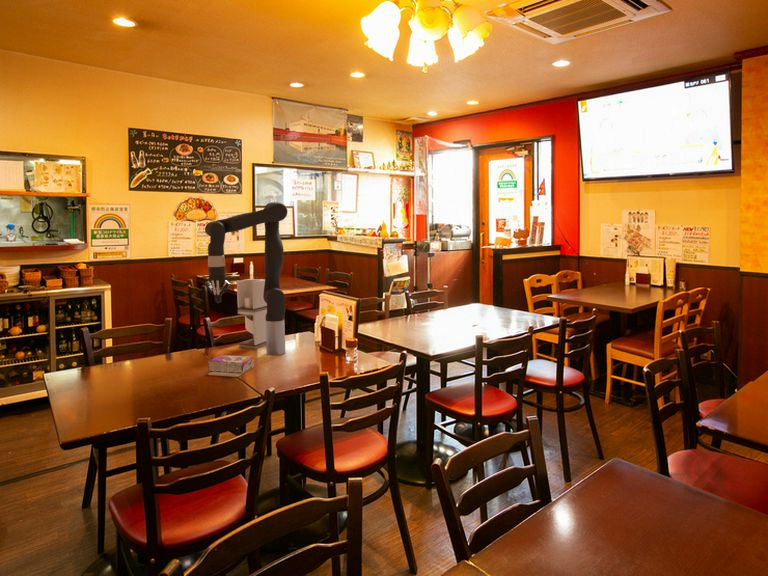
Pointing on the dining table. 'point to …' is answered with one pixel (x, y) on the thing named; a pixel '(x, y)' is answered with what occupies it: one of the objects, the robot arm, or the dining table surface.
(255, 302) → the display case
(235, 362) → the candy bar box
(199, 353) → the dining table surface
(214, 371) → the mat
